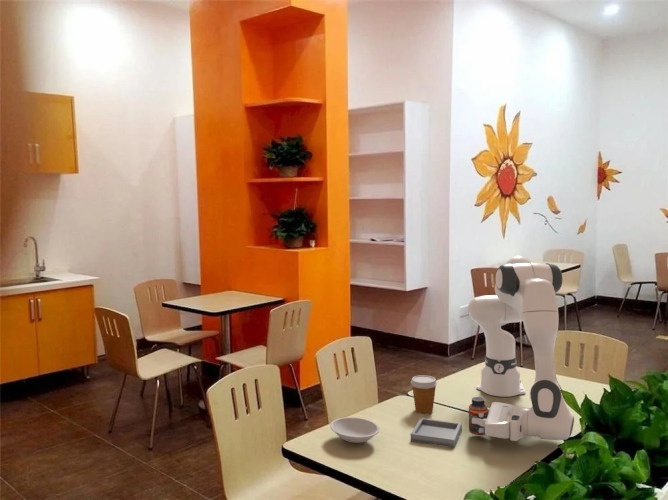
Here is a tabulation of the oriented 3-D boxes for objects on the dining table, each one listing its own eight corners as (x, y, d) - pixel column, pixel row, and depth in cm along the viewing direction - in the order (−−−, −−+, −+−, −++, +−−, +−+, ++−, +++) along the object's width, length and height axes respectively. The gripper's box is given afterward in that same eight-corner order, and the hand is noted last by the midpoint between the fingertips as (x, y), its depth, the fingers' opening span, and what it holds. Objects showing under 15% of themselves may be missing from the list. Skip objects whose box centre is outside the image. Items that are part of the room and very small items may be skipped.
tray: (421, 424, 197) (420, 417, 196) (461, 430, 191) (461, 423, 191) (410, 441, 184) (410, 433, 183) (454, 447, 178) (454, 439, 178)
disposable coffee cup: (436, 416, 204) (436, 383, 202) (410, 414, 206) (409, 382, 204) (437, 406, 213) (437, 375, 212) (411, 405, 215) (411, 374, 214)
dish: (390, 442, 183) (389, 427, 183) (358, 457, 173) (358, 441, 173) (351, 427, 196) (351, 413, 195) (320, 440, 186) (320, 425, 186)
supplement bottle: (486, 437, 182) (486, 403, 180) (467, 435, 184) (467, 401, 182) (488, 429, 187) (488, 396, 186) (470, 427, 189) (469, 394, 188)
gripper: (520, 399, 189) (478, 395, 195) (515, 423, 170) (468, 417, 176) (520, 418, 190) (478, 413, 195) (515, 443, 171) (468, 437, 176)
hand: (473, 415), depth 185 cm, fingers closed on supplement bottle, 6 cm apart
